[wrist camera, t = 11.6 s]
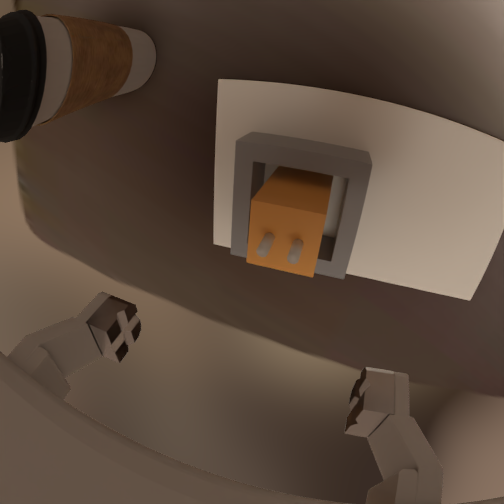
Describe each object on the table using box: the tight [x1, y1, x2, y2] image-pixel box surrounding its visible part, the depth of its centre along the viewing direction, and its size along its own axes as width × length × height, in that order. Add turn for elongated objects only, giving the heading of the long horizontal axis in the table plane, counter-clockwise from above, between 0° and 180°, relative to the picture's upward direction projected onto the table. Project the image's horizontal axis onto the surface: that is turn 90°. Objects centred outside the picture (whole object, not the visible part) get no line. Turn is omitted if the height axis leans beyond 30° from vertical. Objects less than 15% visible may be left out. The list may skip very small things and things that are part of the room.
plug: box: [247, 166, 333, 277], centre depth 19 cm, size 4×4×9 cm
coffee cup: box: [0, 10, 156, 143], centre depth 15 cm, size 8×8×15 cm
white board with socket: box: [214, 79, 504, 300], centre depth 20 cm, size 14×24×4 cm, turn 86°
